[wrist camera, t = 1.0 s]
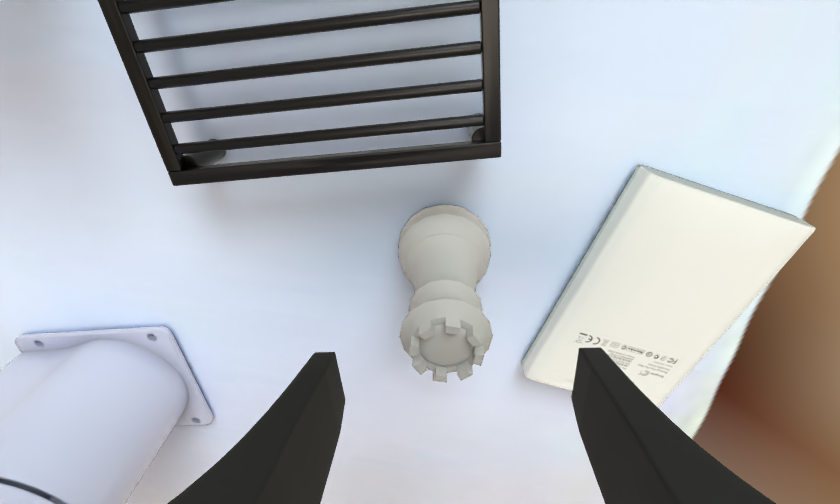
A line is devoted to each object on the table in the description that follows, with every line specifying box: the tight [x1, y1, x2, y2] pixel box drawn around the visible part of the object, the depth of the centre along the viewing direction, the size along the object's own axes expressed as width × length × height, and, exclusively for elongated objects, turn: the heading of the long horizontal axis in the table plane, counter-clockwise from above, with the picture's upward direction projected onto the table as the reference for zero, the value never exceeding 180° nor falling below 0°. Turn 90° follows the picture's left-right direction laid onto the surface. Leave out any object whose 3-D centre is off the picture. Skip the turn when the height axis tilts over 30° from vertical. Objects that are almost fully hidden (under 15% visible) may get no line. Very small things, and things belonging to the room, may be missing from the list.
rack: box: [98, 0, 501, 186], centre depth 16 cm, size 13×10×3 cm
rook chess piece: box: [398, 204, 493, 382], centre depth 18 cm, size 4×4×8 cm
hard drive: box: [521, 165, 815, 407], centre depth 22 cm, size 2×8×12 cm
